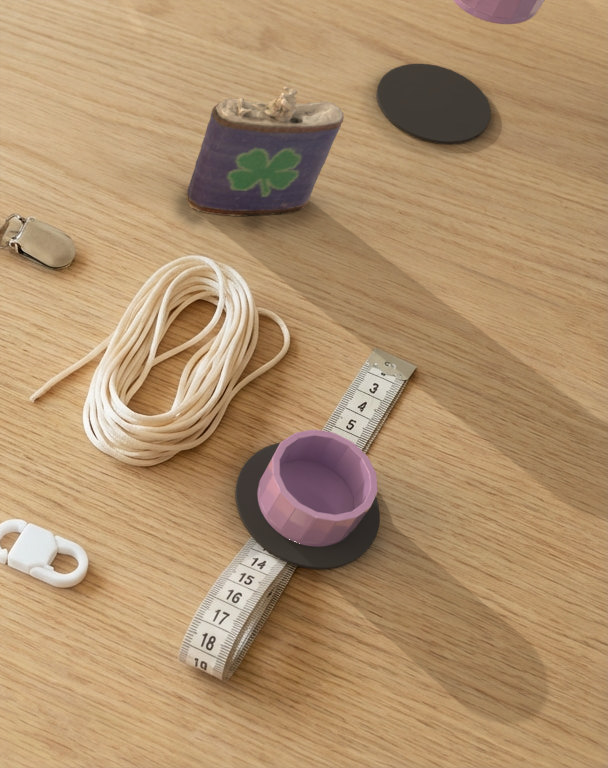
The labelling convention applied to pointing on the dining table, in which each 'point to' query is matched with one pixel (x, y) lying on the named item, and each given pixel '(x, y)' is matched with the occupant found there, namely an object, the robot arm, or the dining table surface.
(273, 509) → the dish
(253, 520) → the disc
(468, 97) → the coaster back
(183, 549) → the dining table surface
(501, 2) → the dish
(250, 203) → the flask
